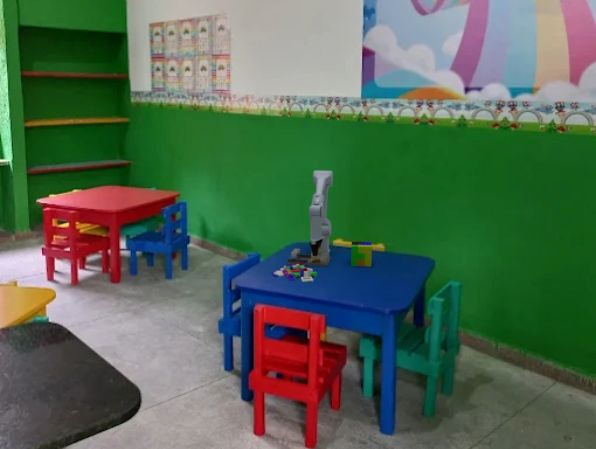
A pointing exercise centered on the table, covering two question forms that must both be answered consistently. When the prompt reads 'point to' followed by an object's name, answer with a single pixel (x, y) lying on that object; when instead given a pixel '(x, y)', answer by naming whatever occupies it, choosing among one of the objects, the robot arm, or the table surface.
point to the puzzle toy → (361, 253)
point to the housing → (317, 255)
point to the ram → (295, 254)
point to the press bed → (312, 260)
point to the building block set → (304, 273)
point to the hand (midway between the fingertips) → (316, 254)
